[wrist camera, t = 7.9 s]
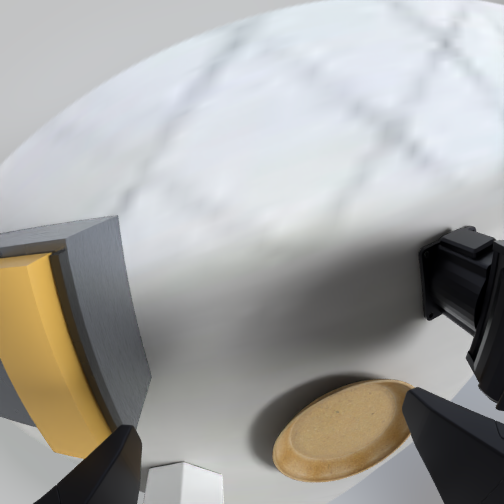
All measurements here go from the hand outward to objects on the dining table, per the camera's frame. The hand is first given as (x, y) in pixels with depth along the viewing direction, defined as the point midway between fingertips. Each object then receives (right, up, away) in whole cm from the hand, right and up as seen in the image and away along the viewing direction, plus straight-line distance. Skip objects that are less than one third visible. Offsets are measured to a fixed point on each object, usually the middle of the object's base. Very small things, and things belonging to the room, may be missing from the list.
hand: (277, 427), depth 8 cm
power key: (-11, 0, +4) cm, 12 cm away
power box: (-15, +1, +11) cm, 18 cm away
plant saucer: (+8, -11, +17) cm, 22 cm away
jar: (-8, -20, +17) cm, 27 cm away
